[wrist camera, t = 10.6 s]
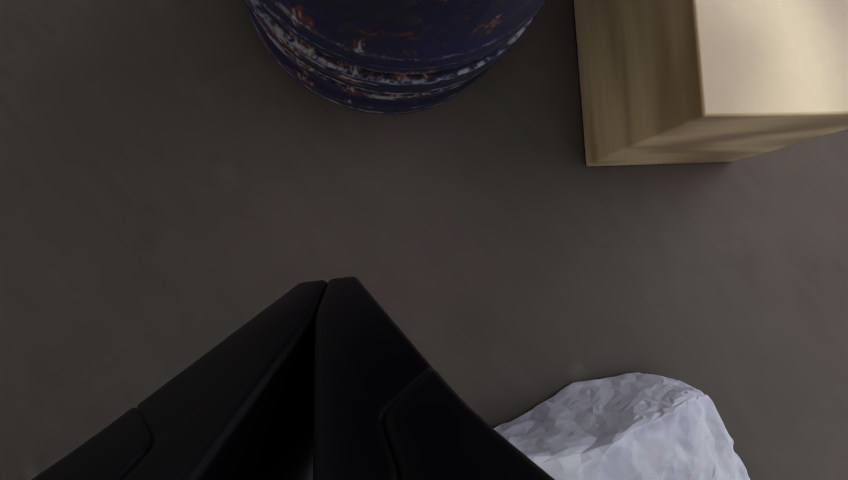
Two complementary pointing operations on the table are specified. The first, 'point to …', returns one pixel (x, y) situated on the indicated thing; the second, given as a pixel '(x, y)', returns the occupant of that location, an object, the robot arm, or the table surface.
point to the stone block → (627, 432)
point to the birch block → (708, 77)
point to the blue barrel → (389, 46)
